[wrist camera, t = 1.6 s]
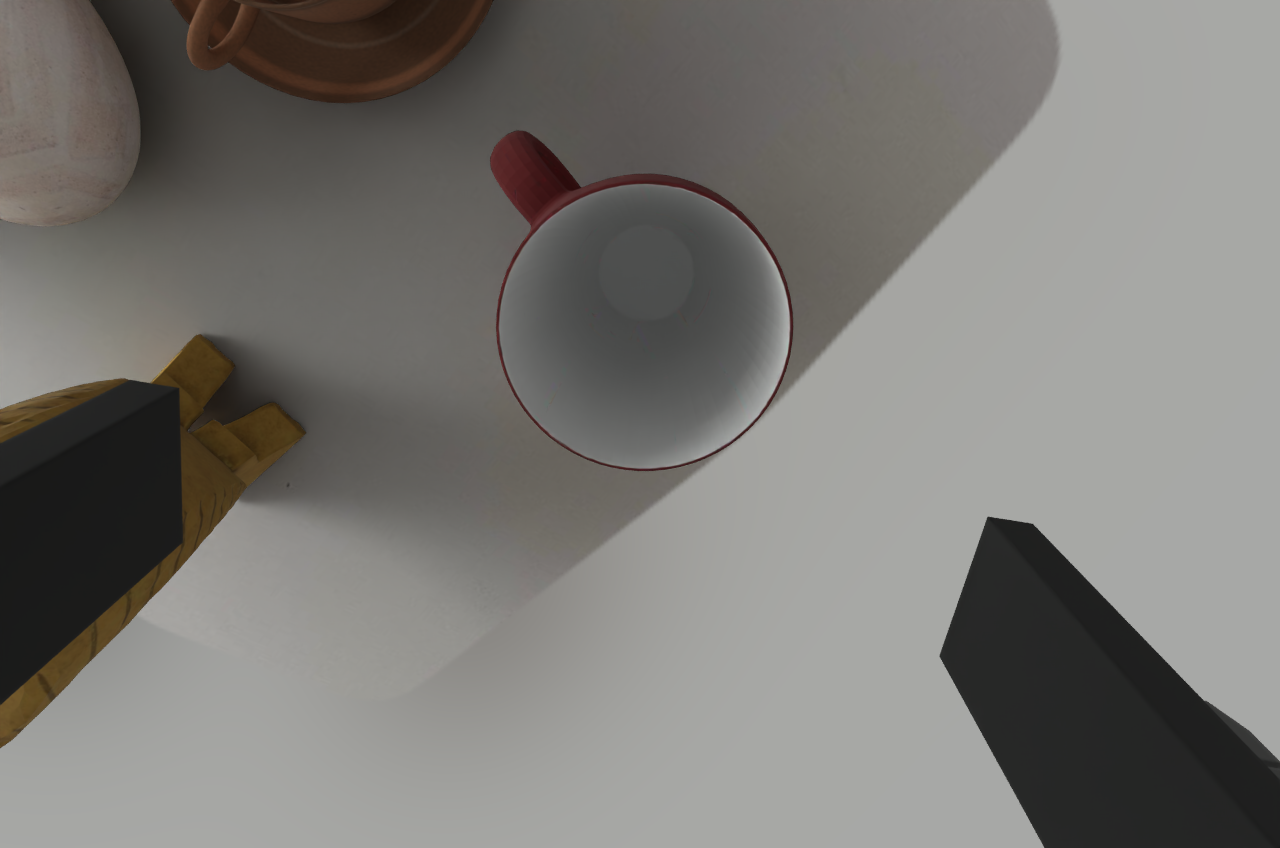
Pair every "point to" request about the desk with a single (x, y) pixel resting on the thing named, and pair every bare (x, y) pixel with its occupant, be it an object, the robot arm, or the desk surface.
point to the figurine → (210, 488)
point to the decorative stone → (62, 113)
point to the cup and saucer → (331, 42)
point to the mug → (637, 313)
